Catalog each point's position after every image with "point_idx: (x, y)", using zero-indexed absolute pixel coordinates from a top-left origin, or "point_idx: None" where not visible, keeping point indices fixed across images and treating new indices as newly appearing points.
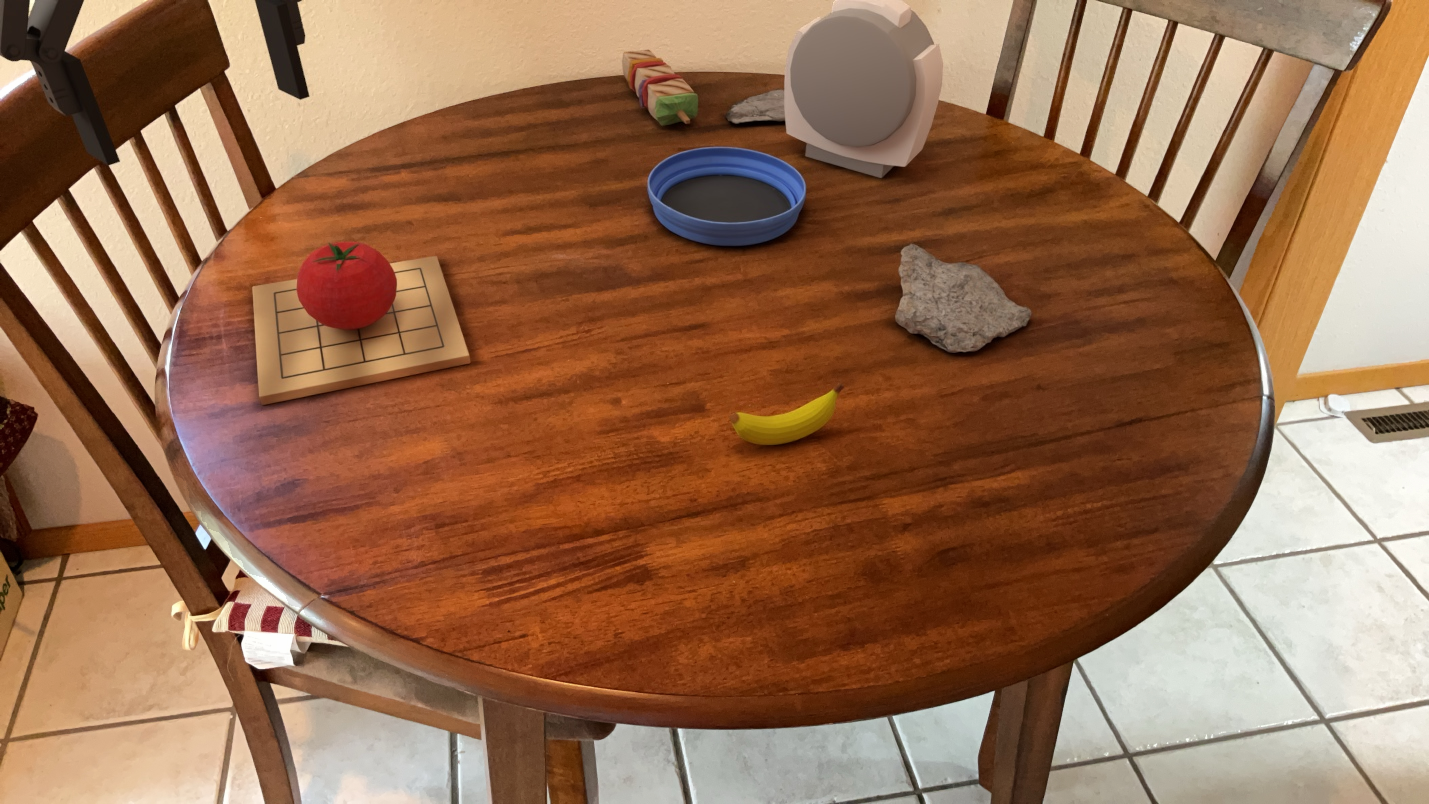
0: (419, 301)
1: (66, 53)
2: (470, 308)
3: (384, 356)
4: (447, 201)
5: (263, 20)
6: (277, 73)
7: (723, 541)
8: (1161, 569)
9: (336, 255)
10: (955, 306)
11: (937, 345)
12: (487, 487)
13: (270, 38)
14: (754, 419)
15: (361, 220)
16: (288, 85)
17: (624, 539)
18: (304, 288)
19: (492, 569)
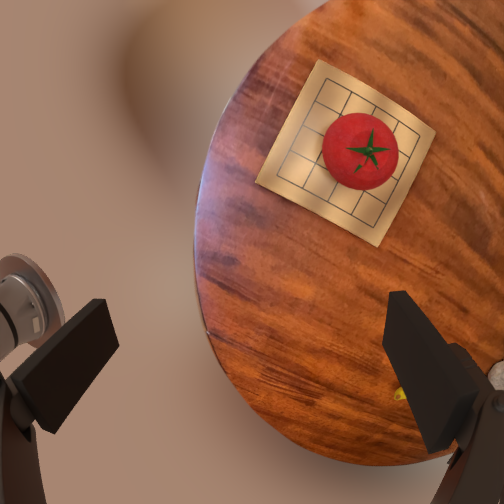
0: (396, 169)
1: (35, 408)
2: (415, 195)
3: (340, 206)
4: (474, 78)
5: (435, 374)
6: (398, 315)
7: (344, 409)
8: (401, 464)
9: (366, 151)
10: (499, 386)
11: None
12: (305, 333)
13: (420, 360)
14: (403, 397)
15: (421, 44)
16: (389, 332)
17: (321, 390)
18: (328, 149)
19: (270, 368)
